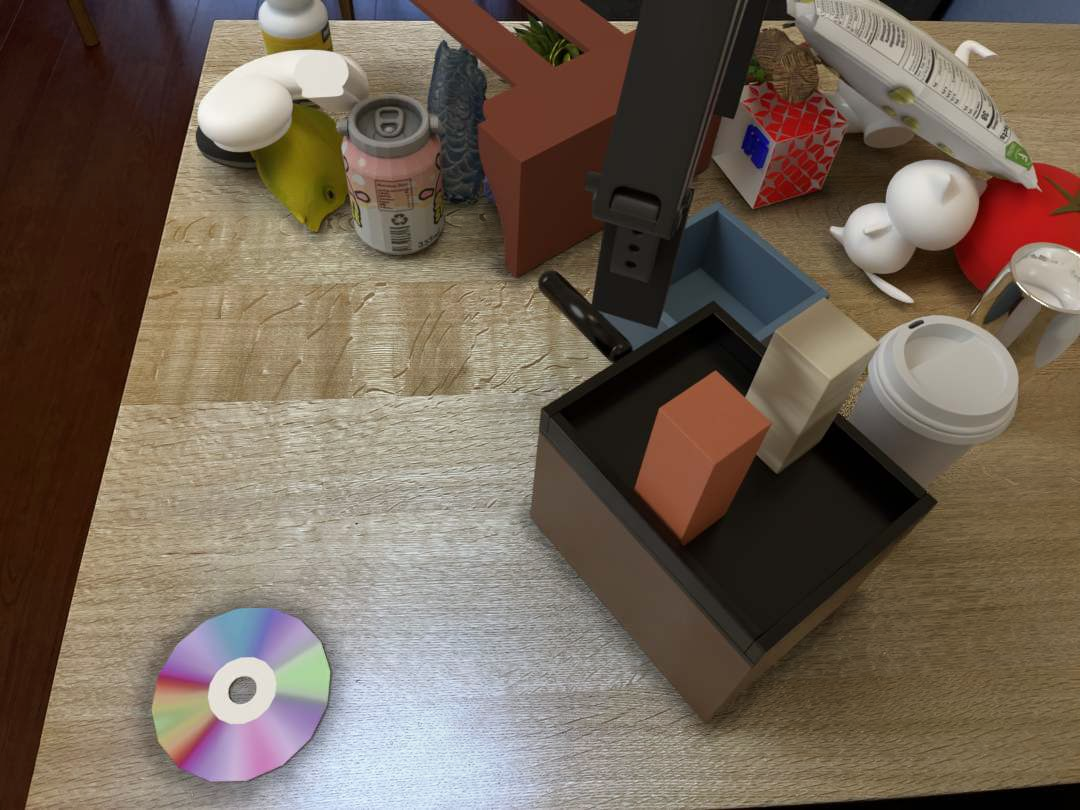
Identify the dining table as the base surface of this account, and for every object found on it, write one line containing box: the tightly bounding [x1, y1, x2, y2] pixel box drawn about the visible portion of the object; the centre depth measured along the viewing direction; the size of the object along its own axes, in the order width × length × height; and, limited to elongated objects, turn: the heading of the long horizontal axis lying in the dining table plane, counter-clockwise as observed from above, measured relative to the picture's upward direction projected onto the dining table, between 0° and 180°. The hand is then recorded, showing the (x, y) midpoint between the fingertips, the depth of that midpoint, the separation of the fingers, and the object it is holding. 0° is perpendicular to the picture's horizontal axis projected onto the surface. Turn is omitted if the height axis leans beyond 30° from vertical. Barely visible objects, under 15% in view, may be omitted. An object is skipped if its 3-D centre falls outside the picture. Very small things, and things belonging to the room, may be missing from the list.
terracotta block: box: [634, 371, 772, 546], centre depth 47 cm, size 4×4×10 cm
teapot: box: [817, 39, 1000, 149], centre depth 88 cm, size 10×20×9 cm
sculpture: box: [196, 50, 371, 152], centre depth 73 cm, size 12×15×8 cm
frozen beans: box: [786, 0, 1042, 192], centre depth 75 cm, size 21×6×25 cm
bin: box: [599, 200, 831, 351], centre depth 72 cm, size 13×13×8 cm
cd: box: [151, 607, 332, 783], centre depth 57 cm, size 11×11×1 cm
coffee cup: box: [847, 314, 1019, 489], centre depth 62 cm, size 10×10×15 cm
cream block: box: [745, 298, 880, 474], centre depth 51 cm, size 4×4×10 cm
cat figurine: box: [829, 159, 987, 304], centre depth 76 cm, size 9×11×12 cm
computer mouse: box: [195, 99, 300, 172], centre depth 83 cm, size 7×12×4 cm, turn 159°
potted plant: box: [495, 12, 584, 89], centre depth 84 cm, size 12×13×15 cm
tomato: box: [954, 162, 1080, 293], centre depth 76 cm, size 14×13×10 cm
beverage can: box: [336, 93, 446, 256], centre depth 75 cm, size 9×8×12 cm
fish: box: [250, 100, 349, 233], centre depth 81 cm, size 3×16×10 cm
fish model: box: [427, 38, 488, 206], centre depth 85 cm, size 7×21×5 cm, turn 5°
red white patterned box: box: [711, 81, 849, 210], centre depth 83 cm, size 8×8×8 cm
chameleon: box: [744, 20, 822, 103], centre depth 86 cm, size 7×30×16 cm
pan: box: [529, 269, 939, 725], centre depth 59 cm, size 28×15×15 cm, turn 38°
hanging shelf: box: [408, 0, 722, 278], centre depth 82 cm, size 24×13×30 cm
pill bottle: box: [257, 0, 334, 107], centre depth 85 cm, size 6×6×12 cm
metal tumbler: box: [966, 242, 1080, 387], centre depth 67 cm, size 7×7×15 cm
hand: (670, 200), depth 38 cm, fingers open, 13 cm apart
